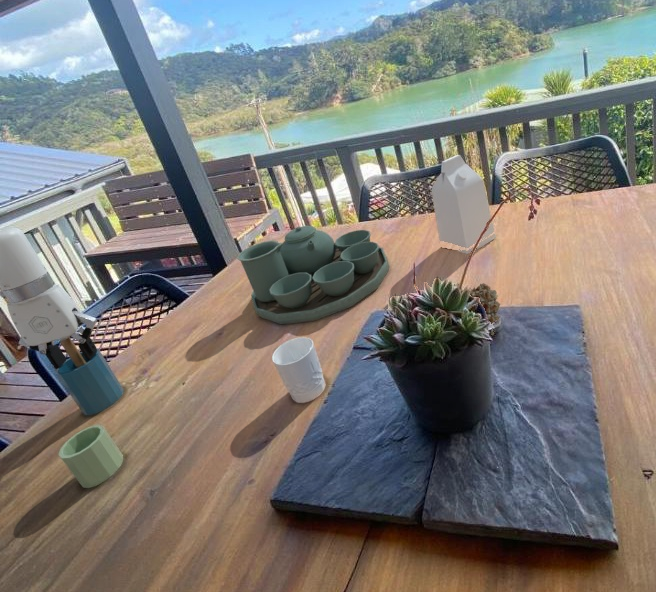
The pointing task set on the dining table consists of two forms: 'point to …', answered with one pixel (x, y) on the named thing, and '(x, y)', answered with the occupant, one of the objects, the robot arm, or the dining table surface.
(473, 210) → the milk
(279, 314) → the tea set
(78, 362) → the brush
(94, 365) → the blue faceted cup
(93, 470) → the holder
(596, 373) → the dining table surface
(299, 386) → the white cup
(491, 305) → the pine cone
